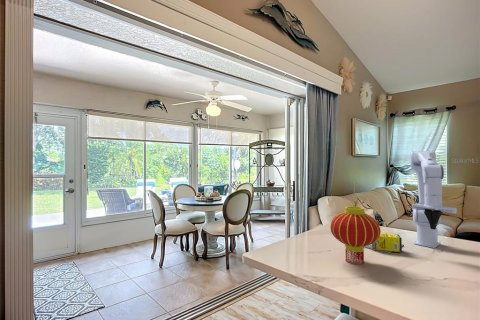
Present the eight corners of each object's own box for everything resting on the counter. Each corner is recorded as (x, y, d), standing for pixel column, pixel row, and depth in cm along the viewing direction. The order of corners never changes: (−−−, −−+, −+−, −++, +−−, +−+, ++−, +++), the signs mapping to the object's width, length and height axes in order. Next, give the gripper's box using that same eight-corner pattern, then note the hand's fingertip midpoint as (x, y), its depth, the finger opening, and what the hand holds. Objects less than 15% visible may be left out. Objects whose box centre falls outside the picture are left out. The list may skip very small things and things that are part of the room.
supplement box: (401, 237, 107) (371, 235, 111) (402, 252, 107) (372, 249, 111) (398, 234, 113) (370, 231, 117) (399, 248, 113) (370, 245, 117)
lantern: (376, 256, 104) (375, 180, 105) (384, 273, 88) (384, 183, 88) (330, 251, 110) (330, 179, 110) (330, 267, 93) (330, 182, 94)
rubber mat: (369, 238, 129) (369, 237, 129) (403, 245, 118) (403, 244, 118) (353, 244, 119) (353, 243, 119) (389, 253, 107) (389, 252, 107)
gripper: (409, 193, 109) (409, 227, 109) (453, 197, 98) (453, 234, 98) (414, 192, 114) (415, 224, 113) (457, 196, 103) (458, 231, 102)
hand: (433, 228), depth 106 cm, fingers closed
